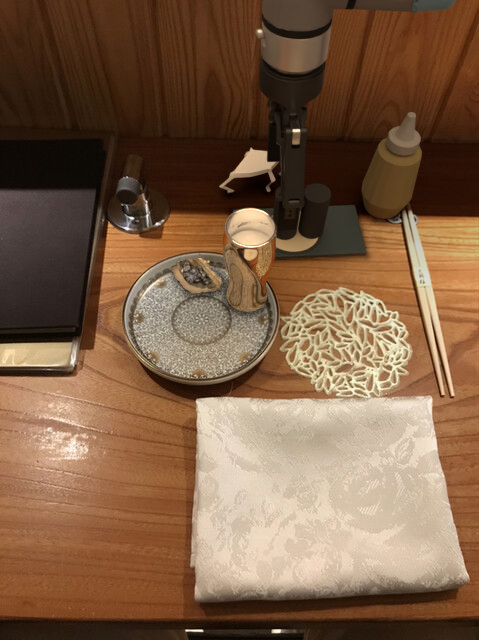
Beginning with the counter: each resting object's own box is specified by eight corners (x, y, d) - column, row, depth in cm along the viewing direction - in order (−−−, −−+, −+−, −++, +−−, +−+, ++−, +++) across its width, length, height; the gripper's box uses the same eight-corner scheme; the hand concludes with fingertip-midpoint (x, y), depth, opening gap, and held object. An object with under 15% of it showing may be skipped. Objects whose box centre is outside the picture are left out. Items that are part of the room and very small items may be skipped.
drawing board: (354, 207, 92) (355, 204, 92) (365, 255, 87) (366, 252, 87) (233, 212, 91) (233, 208, 91) (237, 260, 86) (237, 257, 86)
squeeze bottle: (411, 198, 94) (447, 106, 79) (398, 231, 90) (433, 141, 75) (365, 182, 95) (391, 90, 80) (350, 215, 92) (374, 123, 76)
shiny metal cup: (213, 292, 83) (211, 223, 70) (249, 268, 85) (253, 198, 73) (244, 323, 80) (247, 257, 67) (280, 297, 83) (290, 230, 70)
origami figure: (258, 154, 99) (259, 131, 94) (293, 179, 96) (296, 156, 91) (208, 188, 94) (207, 166, 90) (244, 215, 91) (244, 194, 87)
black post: (295, 220, 90) (301, 183, 83) (297, 240, 88) (303, 203, 81) (270, 220, 90) (274, 184, 83) (272, 240, 87) (276, 204, 81)
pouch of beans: (189, 249, 87) (188, 241, 86) (233, 271, 85) (233, 264, 83) (163, 279, 84) (162, 271, 82) (208, 303, 82) (208, 295, 80)
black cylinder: (321, 219, 90) (329, 182, 83) (325, 238, 88) (333, 202, 81) (296, 220, 90) (302, 183, 83) (299, 239, 88) (305, 203, 81)
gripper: (251, -3, 70) (248, 135, 88) (270, 132, 57) (262, 262, 75) (311, -5, 70) (295, 133, 88) (344, 128, 57) (318, 259, 75)
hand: (280, 192), depth 81 cm, fingers open, 13 cm apart
